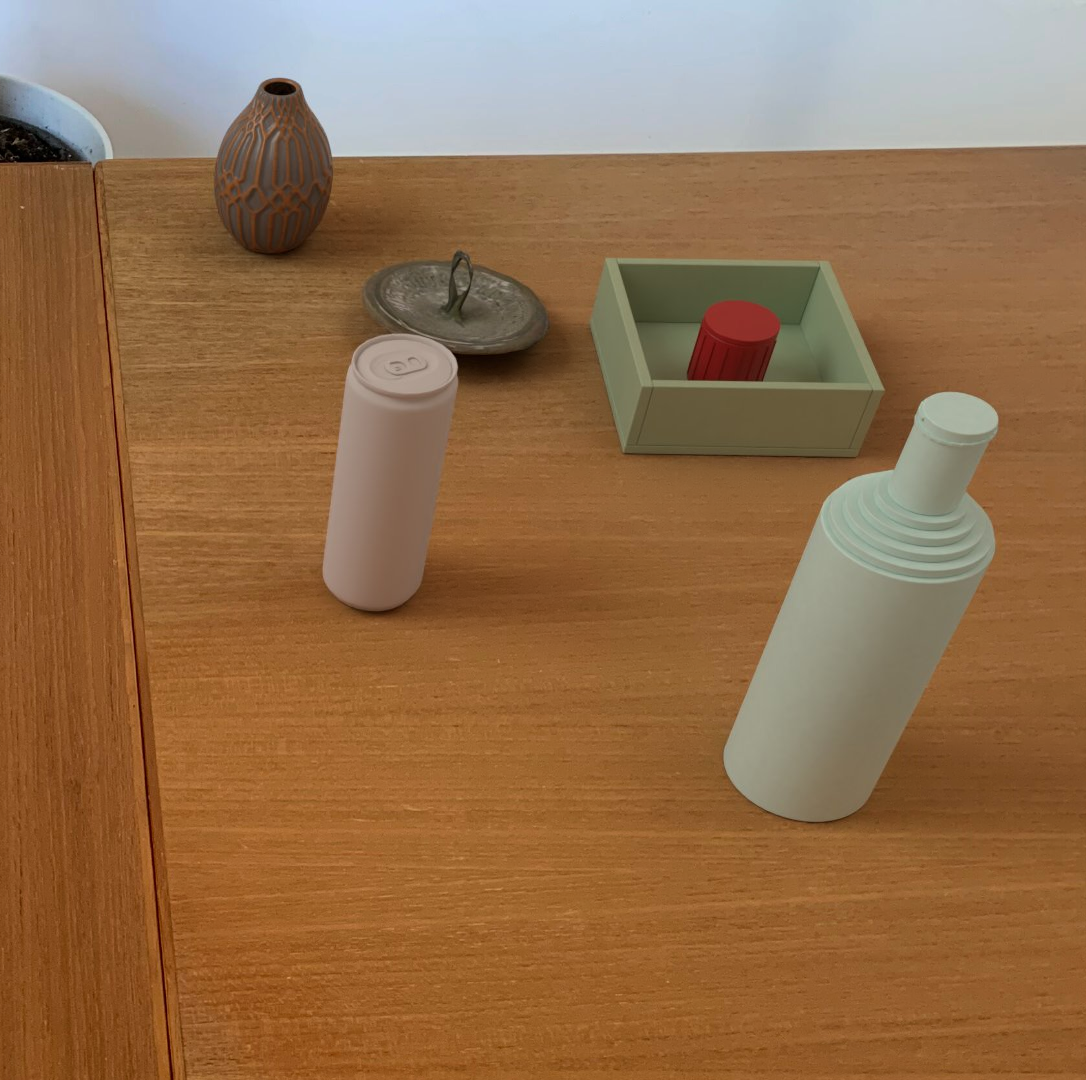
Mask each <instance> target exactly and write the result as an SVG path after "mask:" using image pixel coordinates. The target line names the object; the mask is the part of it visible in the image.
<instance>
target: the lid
mask: <svg viewBox="0 0 1086 1080" xmlns="http://www.w3.org/2000/svg"><path fill="white" fill-rule="evenodd" d="M462 260H463V261H462ZM361 293H362V295H361V300H362V302H363V305H364V307H365V310H366V311H367V313H369V316H371V318H373V320H375V322H376V323H377V324H379V326H381V327H382V328H384V329H385V330H387V331H388V332H390V334H411V335H418V336H422V337H425V338H429V339H432V340H434V341H436V342H438V343H440V344H442V345H443V346H445V347H446V348H447V349H448V350H450V351H451V353H452V354H453V353H454V354H459V355H460V354H461V355H480V356H482V355H483V356H484V355H499V354H507V353H511V352H517V351H522V350H526V349H528V348H530V347H532V346H534V345H536V344H538V343H539V342H541V341H542V340H543V339H544V338H545V337H546V335H547V333H548V331H549V330H550V328H551V327H550V326H551V325H550V318H549V314H548V310H547V307H545V305H544V303H543V302H542V300H541V299H540V297H538V295H537V294H536V293H535V292H534V290H533V289H531V288H530V287H529V286H528V285H525V284H524V283H523V282H521V281H519V280H517V279H516V278H514V277H512V276H509V275H506V274H503V273H501V272H499V271H496V270H494V269H491V268H489V267H485V266H483V265H480V264H477V263H472V261H471V257H470V255H469V254H468V253H465V252H464V251H463V250H461V249H457V251H455V253H454V254H453V257H452V260H448V259H447V260H438V259H427V260H421V259H420V260H409V261H405V262H399V263H394V264H392V265H389V266H386V267H384V268H383V269H379V270H377V271H375V272H374V273H373V274H372V275H370V276H369V278H368V279H366V281H365V282H364V285H363V286H362V289H361Z"/></svg>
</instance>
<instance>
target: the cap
mask: <svg viewBox="0 0 1086 1080" xmlns="http://www.w3.org/2000/svg"><path fill="white" fill-rule="evenodd" d="M779 330H780V321H779V319H778V317H777V316H776V315H775V314H774V313H773V312H772V311H770V310H769V309H767V308H765V307H763V306H761V305H758V304H755V303H752V302H747V301H739V300H729V301H722V302H719V303H716V304H714V305H712V306H710V307H709V308H708V309H707V311H706V313H705V315H704V319H703V320H702V323H701V326H700V329H699V333H698V336H697V339H696V343H695V346H694V349H693V352H692V356H691V359H690V362H689V367H688V370H687V379H688V381H748V382H763V379H764V377H765V374H766V371H767V368H768V365H769V362H770V359H771V356H772V353H773V351H774V348H775V345H776V342H777V340H776V339H777V336H778V333H779Z"/></svg>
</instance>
